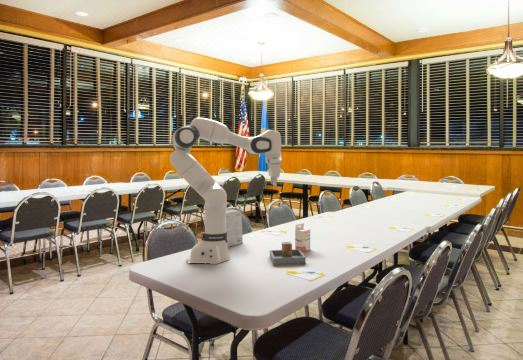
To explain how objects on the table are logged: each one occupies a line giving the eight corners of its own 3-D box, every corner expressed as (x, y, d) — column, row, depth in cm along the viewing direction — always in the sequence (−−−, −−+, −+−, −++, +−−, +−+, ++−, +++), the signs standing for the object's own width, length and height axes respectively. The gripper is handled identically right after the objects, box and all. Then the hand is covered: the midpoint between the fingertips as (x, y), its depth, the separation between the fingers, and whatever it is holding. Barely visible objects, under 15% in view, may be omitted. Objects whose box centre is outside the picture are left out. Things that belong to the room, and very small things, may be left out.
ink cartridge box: (302, 252, 221) (302, 226, 219) (295, 251, 224) (294, 225, 223) (310, 249, 227) (310, 223, 226) (303, 248, 230) (303, 222, 229)
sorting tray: (273, 265, 197) (273, 258, 197) (269, 256, 213) (269, 250, 212) (305, 264, 198) (305, 257, 198) (299, 255, 214) (299, 249, 214)
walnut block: (283, 259, 203) (283, 244, 202) (282, 257, 207) (281, 242, 207) (292, 259, 203) (291, 243, 203) (290, 257, 208) (290, 241, 207)
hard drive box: (234, 241, 250) (234, 209, 248) (243, 243, 244) (242, 210, 243) (215, 246, 239) (214, 212, 237) (223, 248, 233) (222, 214, 232)
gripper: (265, 159, 229) (266, 183, 230) (269, 160, 209) (270, 187, 210) (276, 159, 230) (277, 183, 231) (281, 160, 209) (282, 186, 210)
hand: (273, 185), depth 220 cm, fingers open, 8 cm apart
